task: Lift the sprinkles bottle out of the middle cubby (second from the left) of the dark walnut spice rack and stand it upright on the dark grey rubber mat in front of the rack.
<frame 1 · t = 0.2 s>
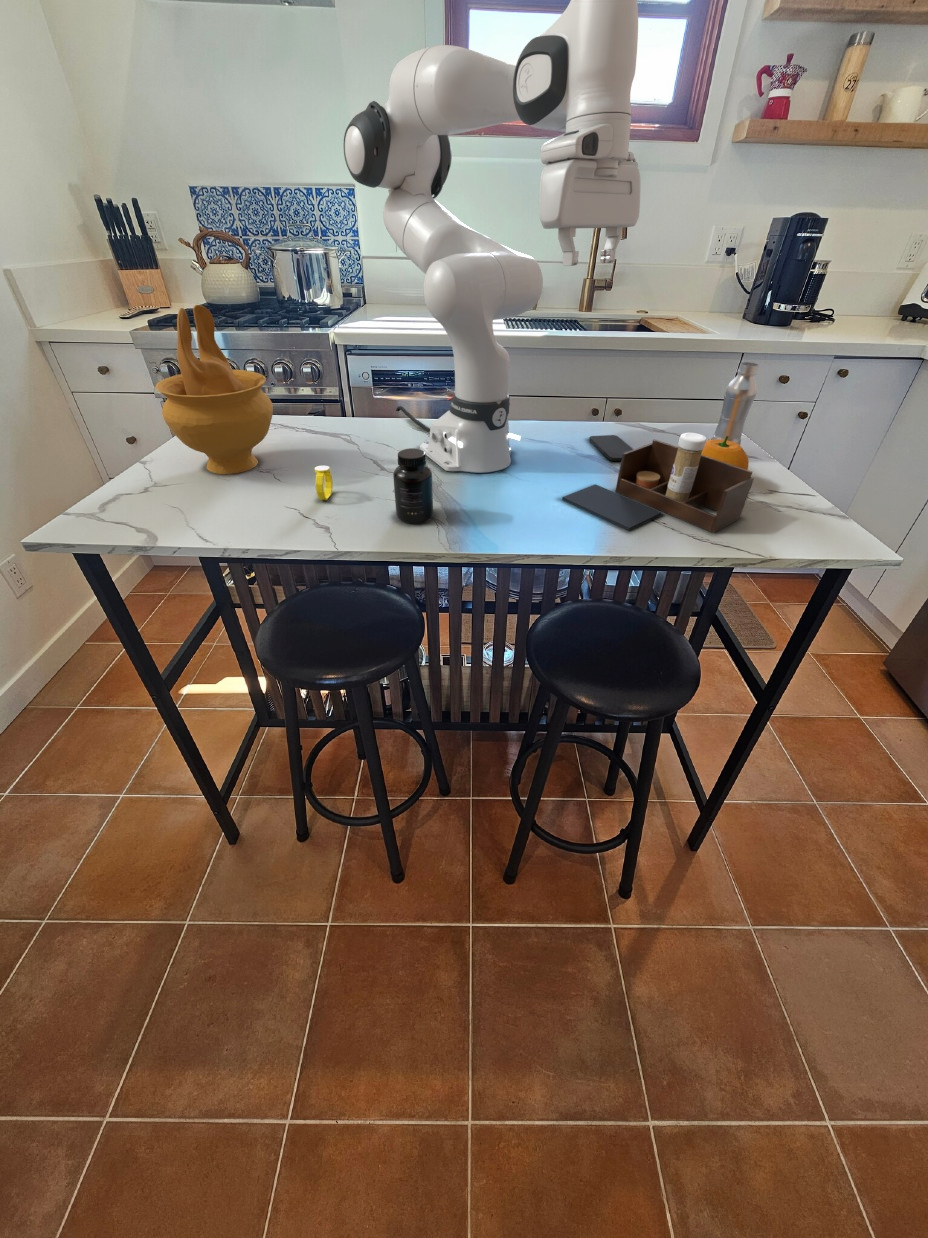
hand: (589, 264, 85), 39 cm above the table, tool pointing down, fingers open, 8 cm apart
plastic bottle: (720, 457, 128), on the table
fruit: (711, 484, 115), on the table
decorative bowl: (232, 465, 119), on the table
supplement bottle: (414, 517, 101), on the table
spice rack: (674, 504, 107), on the table
sprinkles bottle: (674, 505, 107), resting in spice rack
phone: (613, 449, 130), on the table
watch: (326, 498, 107), on the table
spice tin: (644, 492, 111), resting in spice rack
rubber mat: (610, 507, 105), on the table
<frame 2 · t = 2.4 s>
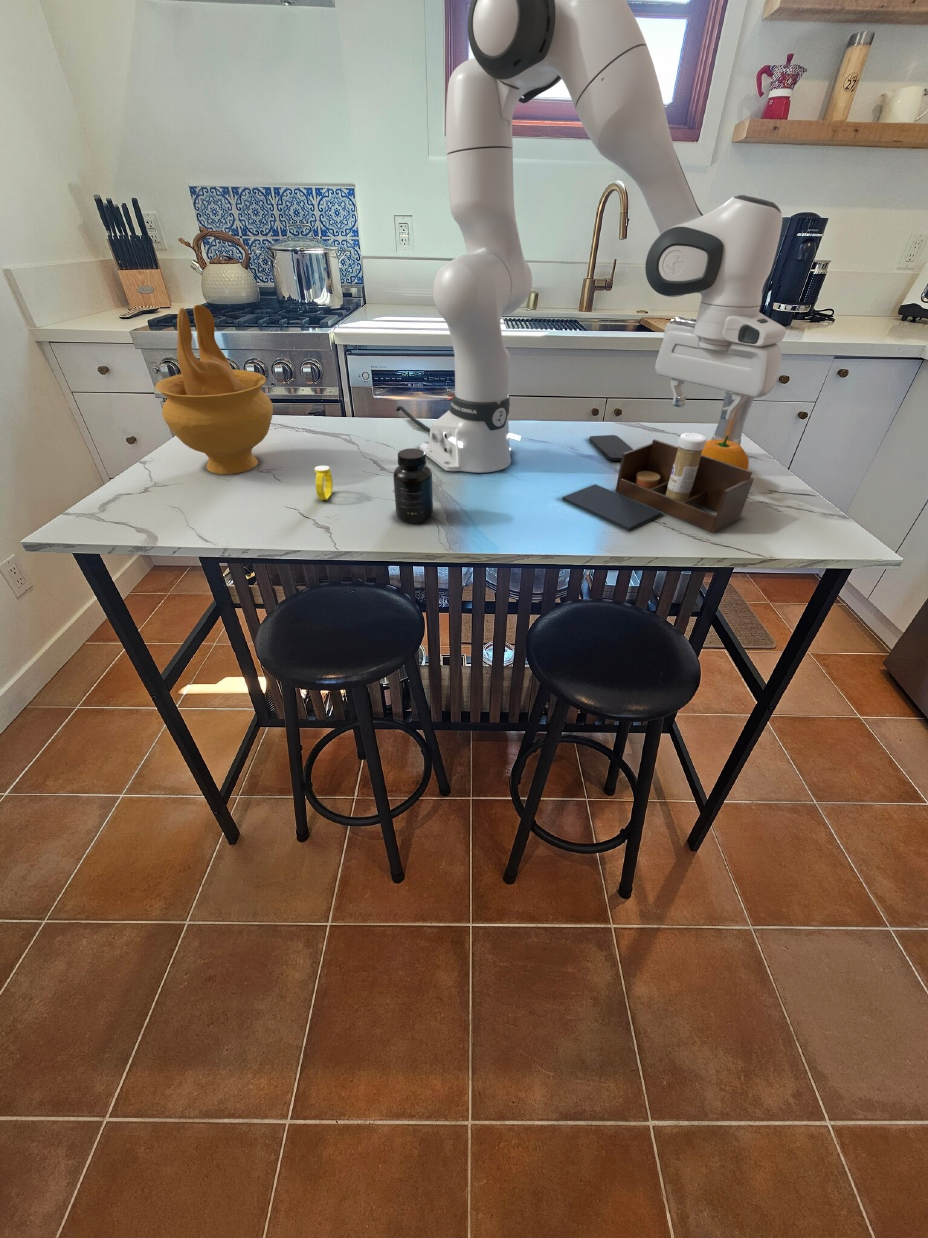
hand: (701, 412, 96), 18 cm above the table, tool pointing down, fingers open, 8 cm apart
nothing on the table moved.
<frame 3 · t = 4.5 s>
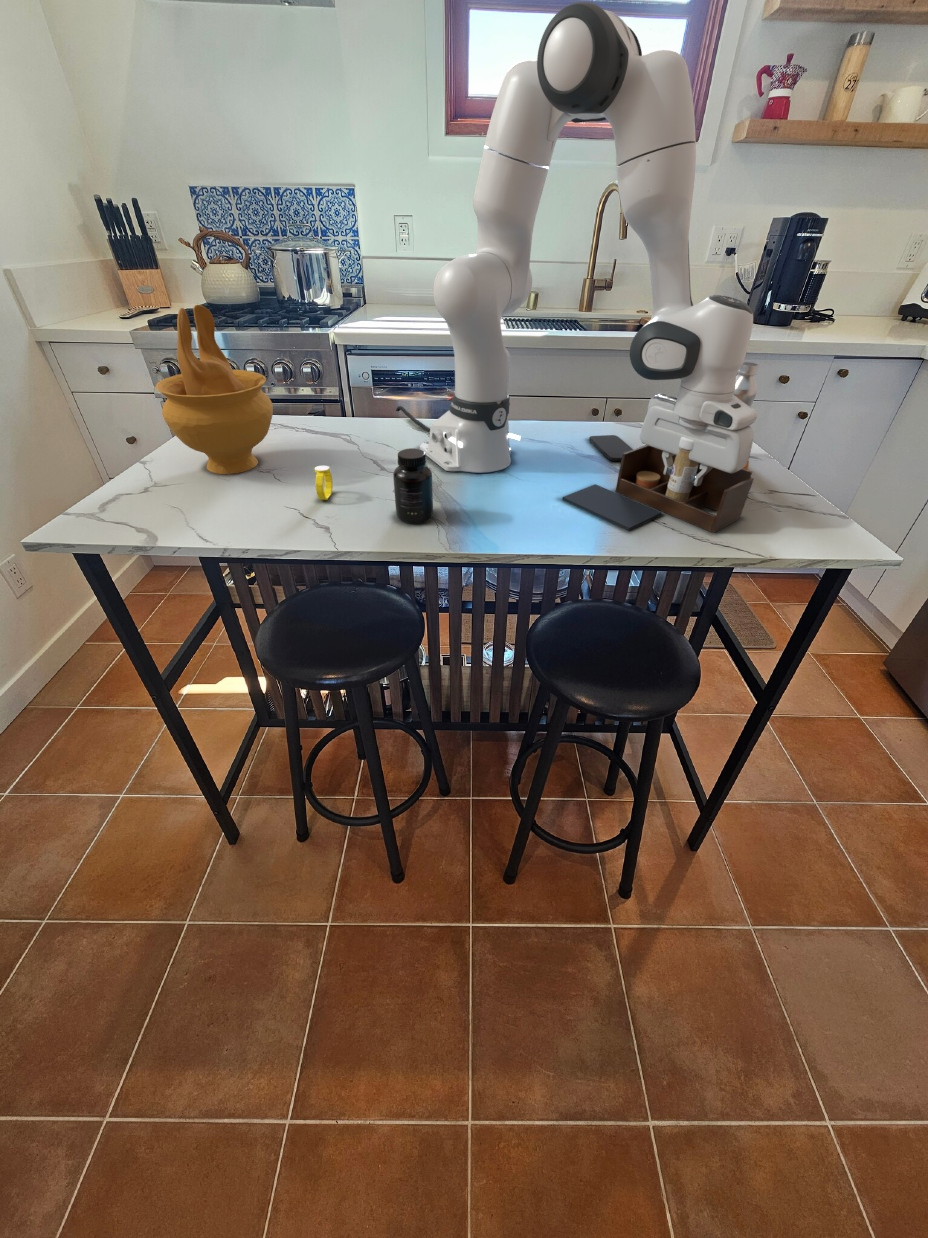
hand: (681, 479, 104), 5 cm above the table, tool pointing down, fingers closed on sprinkles bottle, 4 cm apart
sprinkles bottle: (674, 505, 107), resting in spice rack, touching gripper
everything else where it was.
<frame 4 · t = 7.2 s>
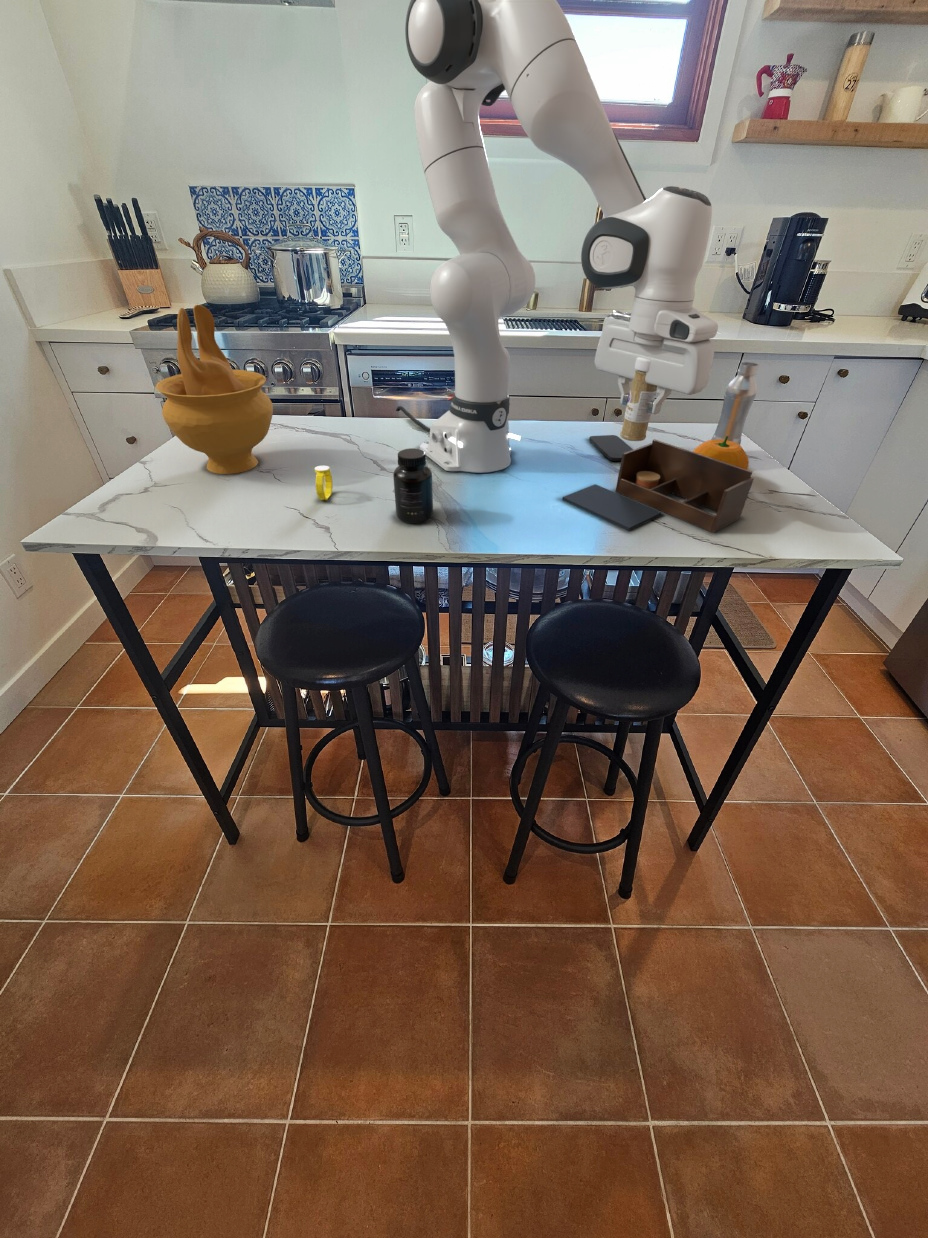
hand: (639, 408, 95), 18 cm above the table, tool pointing down, fingers closed on sprinkles bottle, 4 cm apart
sprinkles bottle: (632, 438, 98), point 13 cm above the table, touching gripper
everything else where it was.
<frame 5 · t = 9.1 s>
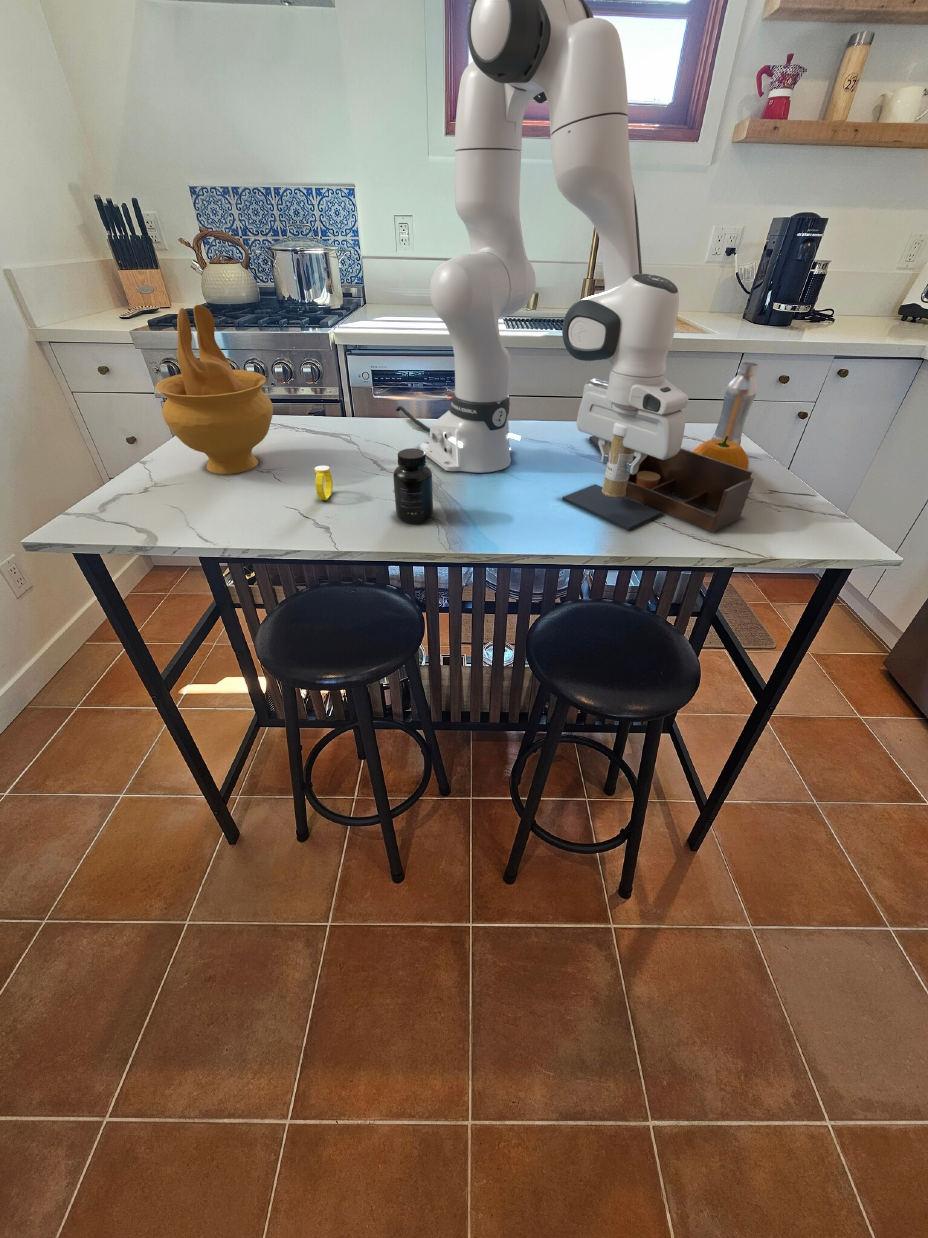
hand: (618, 467, 101), 8 cm above the table, tool pointing down, fingers closed on sprinkles bottle, 4 cm apart
sprinkles bottle: (613, 494, 104), point 3 cm above the table, touching gripper
everything else where it was.
when the fingers open (6 cm above the table, at t = 10.2 s): sprinkles bottle stays where it is, resting on rubber mat.
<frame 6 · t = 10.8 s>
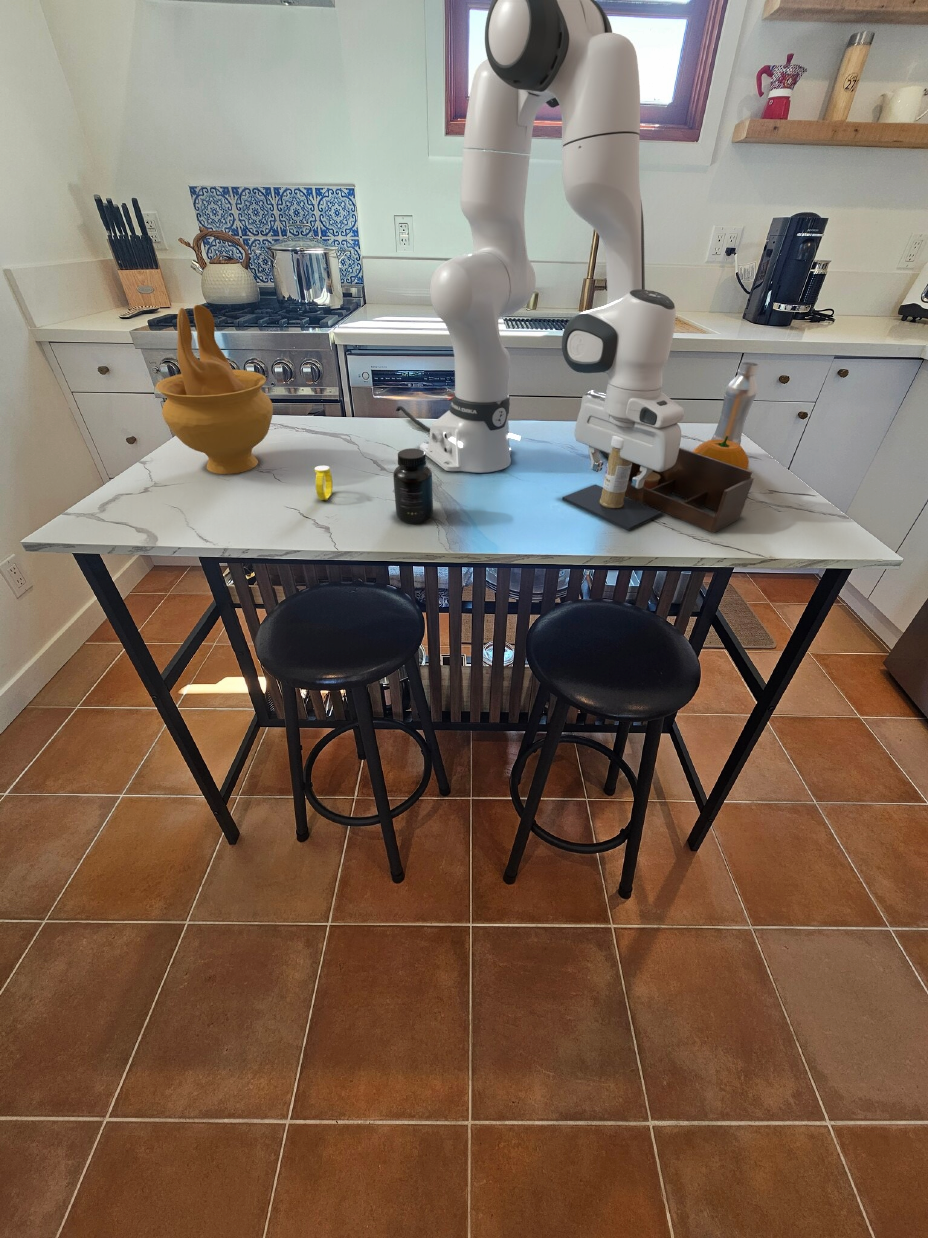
hand: (615, 478, 102), 6 cm above the table, tool pointing down, fingers open, 8 cm apart
sprinkles bottle: (611, 505, 105), resting on rubber mat
everything else where it was.
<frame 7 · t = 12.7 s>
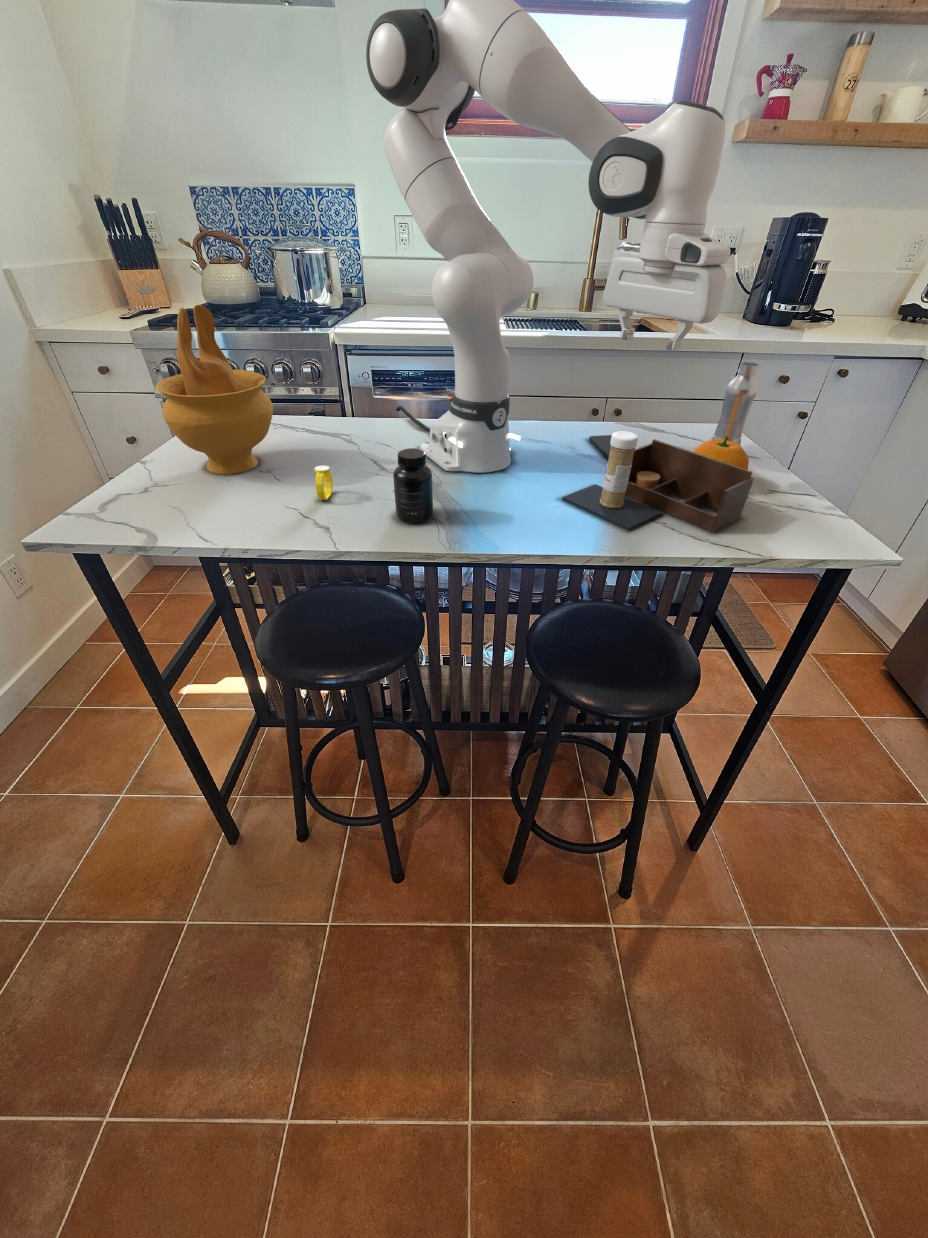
hand: (648, 344, 93), 28 cm above the table, tool pointing down, fingers open, 8 cm apart
nothing on the table moved.
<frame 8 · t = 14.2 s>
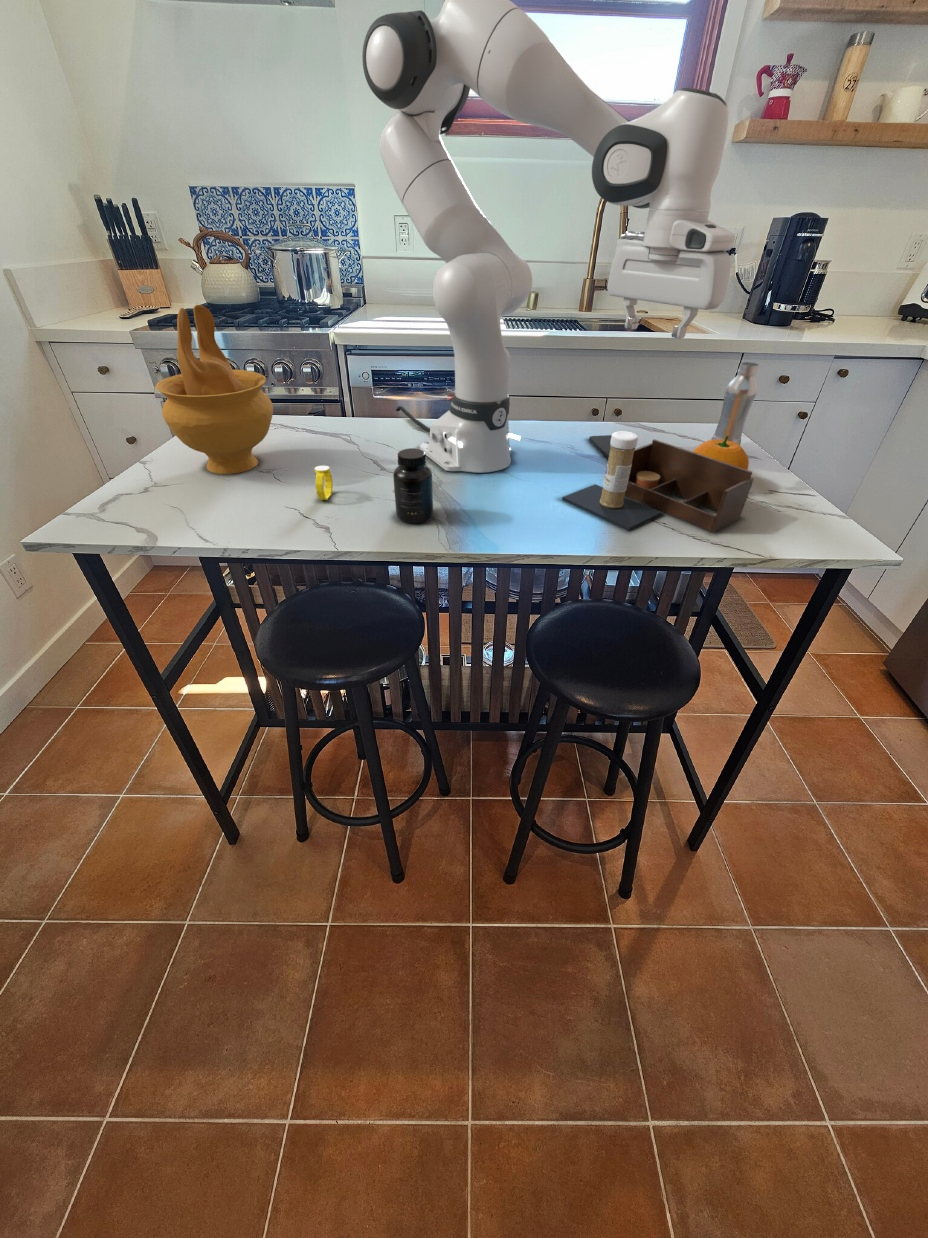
hand: (653, 332, 93), 29 cm above the table, tool pointing down, fingers open, 8 cm apart
nothing on the table moved.
at the end: sprinkles bottle inside the target area on the rubber mat (0.0 cm from its centre), point 0.4 cm above the rubber mat's base; sprinkles bottle tilted 0°; the gripper is holding nothing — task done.
